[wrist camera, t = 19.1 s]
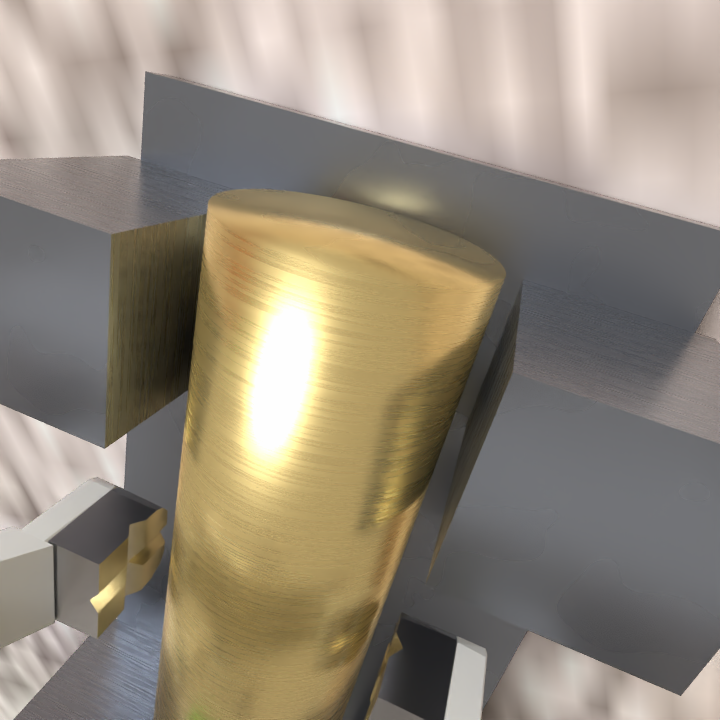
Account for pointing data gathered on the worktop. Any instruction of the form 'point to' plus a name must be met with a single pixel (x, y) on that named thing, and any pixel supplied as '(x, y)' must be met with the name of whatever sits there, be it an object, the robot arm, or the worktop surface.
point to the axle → (308, 443)
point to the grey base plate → (472, 417)
